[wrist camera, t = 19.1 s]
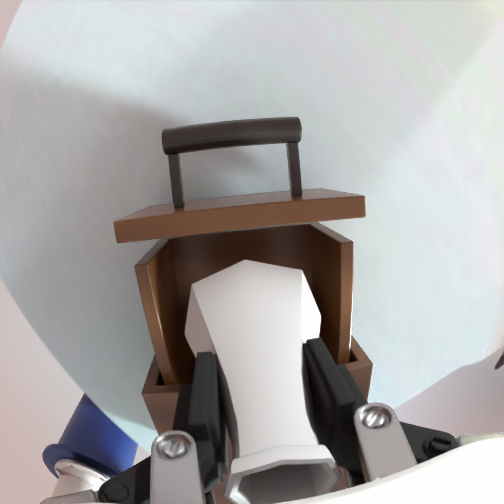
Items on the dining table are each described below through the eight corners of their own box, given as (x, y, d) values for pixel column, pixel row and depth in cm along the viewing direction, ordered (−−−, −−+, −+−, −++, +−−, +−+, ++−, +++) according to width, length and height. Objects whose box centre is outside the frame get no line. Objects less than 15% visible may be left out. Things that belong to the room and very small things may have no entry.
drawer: (142, 144, 21) (103, 131, 13) (317, 127, 22) (358, 108, 14) (182, 375, 26) (172, 435, 18) (325, 358, 27) (353, 412, 19)
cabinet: (165, 323, 25) (141, 392, 16) (329, 304, 26) (374, 364, 17) (199, 443, 30) (196, 508, 20) (323, 427, 30) (346, 489, 21)
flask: (316, 248, 15) (440, 359, 5) (319, 366, 17) (383, 505, 7) (171, 267, 15) (97, 410, 5) (197, 383, 16) (186, 536, 7)
